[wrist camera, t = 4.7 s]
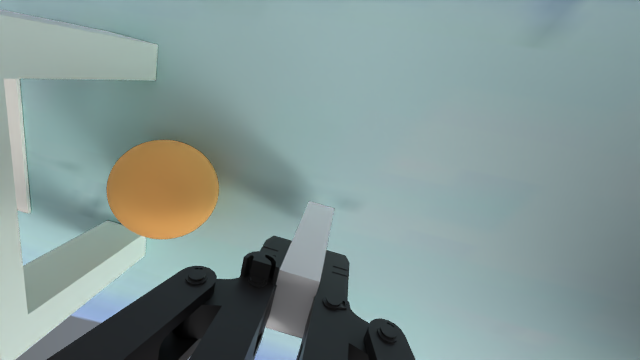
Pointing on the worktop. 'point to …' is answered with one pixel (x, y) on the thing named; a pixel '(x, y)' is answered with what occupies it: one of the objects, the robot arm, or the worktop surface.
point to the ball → (162, 189)
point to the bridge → (3, 228)
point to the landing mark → (17, 143)
